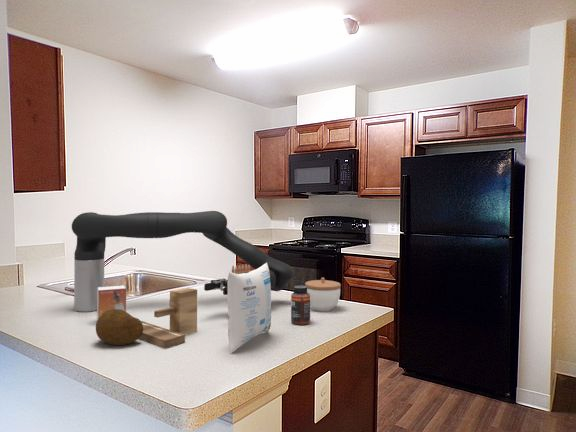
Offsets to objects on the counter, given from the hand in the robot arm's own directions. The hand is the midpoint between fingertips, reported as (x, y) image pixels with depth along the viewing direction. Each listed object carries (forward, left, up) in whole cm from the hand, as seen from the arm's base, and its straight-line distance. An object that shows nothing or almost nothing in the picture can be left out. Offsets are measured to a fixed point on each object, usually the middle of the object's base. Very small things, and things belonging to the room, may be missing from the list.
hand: (214, 289), depth 122 cm
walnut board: (-6, -20, -10) cm, 23 cm away
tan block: (0, -15, -10) cm, 18 cm away
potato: (-6, -28, -11) cm, 31 cm away
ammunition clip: (-24, +36, -11) cm, 45 cm away
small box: (-26, -19, -11) cm, 34 cm away
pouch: (+20, -6, -11) cm, 24 cm away
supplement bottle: (+20, +17, -11) cm, 29 cm away
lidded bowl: (+16, +36, -11) cm, 41 cm away
